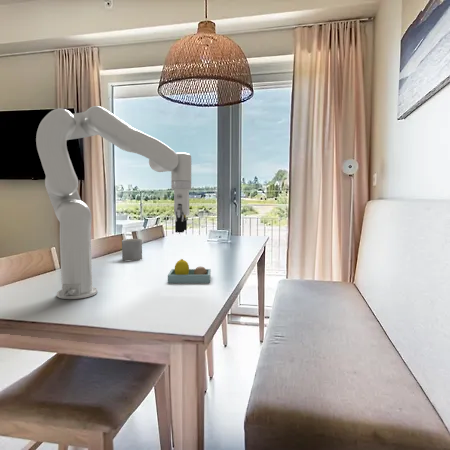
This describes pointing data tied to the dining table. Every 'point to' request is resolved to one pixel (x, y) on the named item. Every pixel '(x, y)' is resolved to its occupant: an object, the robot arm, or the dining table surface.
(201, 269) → the walnut ball
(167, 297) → the dining table surface
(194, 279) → the trough
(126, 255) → the coffee mug
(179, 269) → the lemon
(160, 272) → the dining table surface
